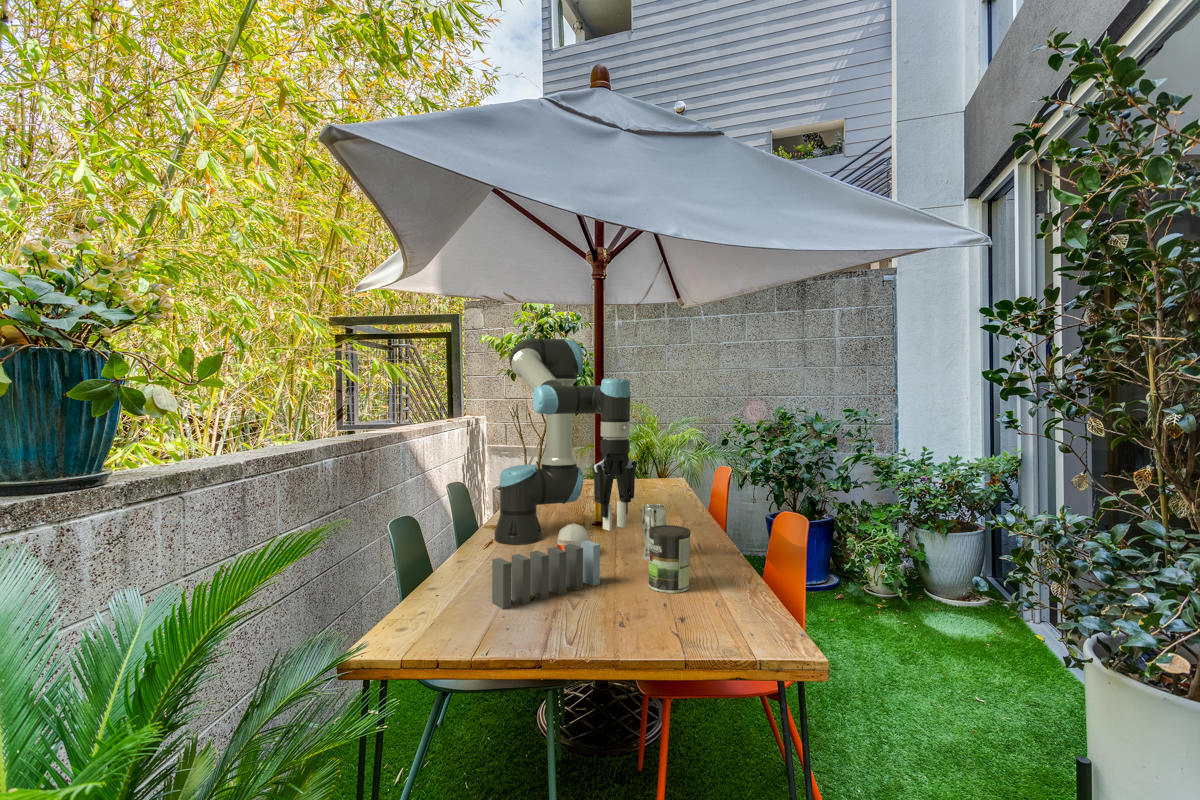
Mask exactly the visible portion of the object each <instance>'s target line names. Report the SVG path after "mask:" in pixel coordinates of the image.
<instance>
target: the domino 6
mask: <svg viewBox="0 0 1200 800" xmlns="http://www.w3.org/2000/svg"><path fill="white" fill-rule="evenodd" d="M581 547H582V548H583V583H585V582H586V584H587V583H588V585H590V584H591V585H590V586H592V585H593V586H592V587H595V586H594V585H596V586H599V585H598V584H600V582H601V581H600V579H601V578H600V573H601V572H600V570H601V567H600V565H601V563H600V562H601V557H600V556H601V545H600V543H597V542H593V541H591V540H590V541H588V540H587V541H582V542H581Z"/></svg>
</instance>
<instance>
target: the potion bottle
mask: <svg viewBox="0 0 1200 800" xmlns="http://www.w3.org/2000/svg"><path fill="white" fill-rule="evenodd" d="M589 535H590V534H589V532H588V531H587V530H586V529H585V527H584V526H583V525H579V524H577V523H576V522H574V523H569V524H566V525H564V527H562V528H560V529H559V531H558V535H557V538H556V543H557V545H556V548H559V549H561V550H564V546H565V545H567V544H573V545H576V546H579V547H581V542H582V541H587V540H588V541H591V540H590V536H589Z"/></svg>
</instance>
